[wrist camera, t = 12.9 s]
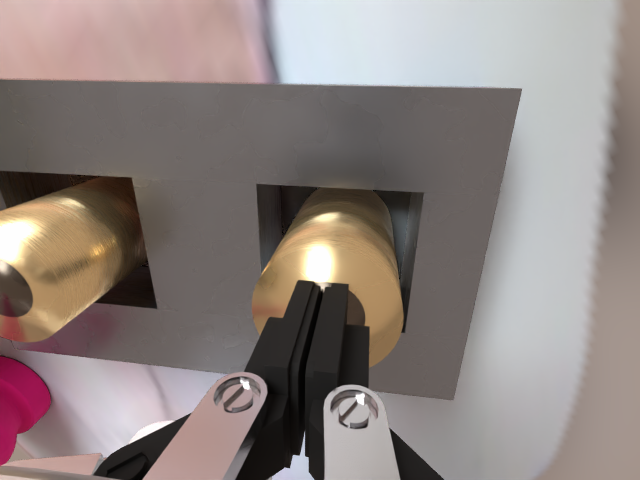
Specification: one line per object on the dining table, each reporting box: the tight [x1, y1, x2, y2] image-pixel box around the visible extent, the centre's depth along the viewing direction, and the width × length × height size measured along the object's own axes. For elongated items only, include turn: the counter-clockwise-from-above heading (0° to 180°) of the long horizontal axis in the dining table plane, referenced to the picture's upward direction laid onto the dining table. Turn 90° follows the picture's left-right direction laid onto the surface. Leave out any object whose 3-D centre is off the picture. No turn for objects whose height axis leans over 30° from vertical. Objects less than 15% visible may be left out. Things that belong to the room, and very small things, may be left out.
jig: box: [0, 79, 522, 400], centre depth 16 cm, size 14×24×8 cm, turn 89°
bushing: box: [252, 187, 404, 368], centre depth 15 cm, size 5×5×8 cm
